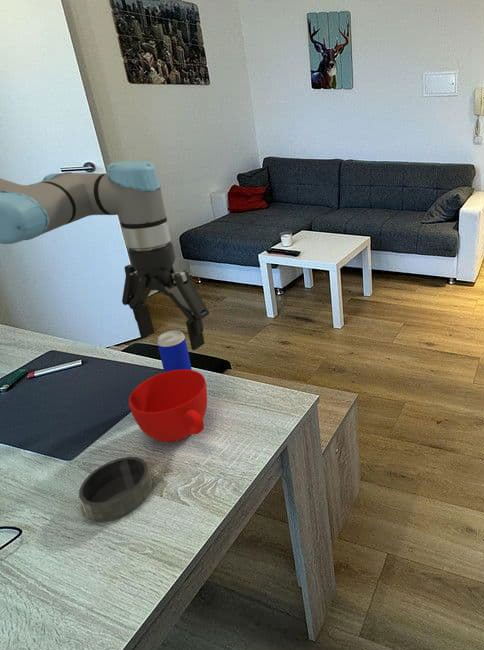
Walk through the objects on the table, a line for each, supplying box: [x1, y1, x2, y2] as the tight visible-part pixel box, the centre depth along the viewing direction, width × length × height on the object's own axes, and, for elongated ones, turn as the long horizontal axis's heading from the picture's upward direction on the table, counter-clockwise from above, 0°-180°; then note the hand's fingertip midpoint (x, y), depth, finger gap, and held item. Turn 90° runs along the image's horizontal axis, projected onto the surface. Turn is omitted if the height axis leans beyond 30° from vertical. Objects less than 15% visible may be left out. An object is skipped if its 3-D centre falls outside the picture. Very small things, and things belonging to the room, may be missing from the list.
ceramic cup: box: [128, 369, 208, 443], centre depth 82 cm, size 13×17×10 cm
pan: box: [78, 456, 153, 523], centre depth 71 cm, size 9×9×4 cm
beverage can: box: [157, 329, 193, 373], centre depth 93 cm, size 5×5×15 cm
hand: (172, 340), depth 90 cm, fingers open, 13 cm apart
